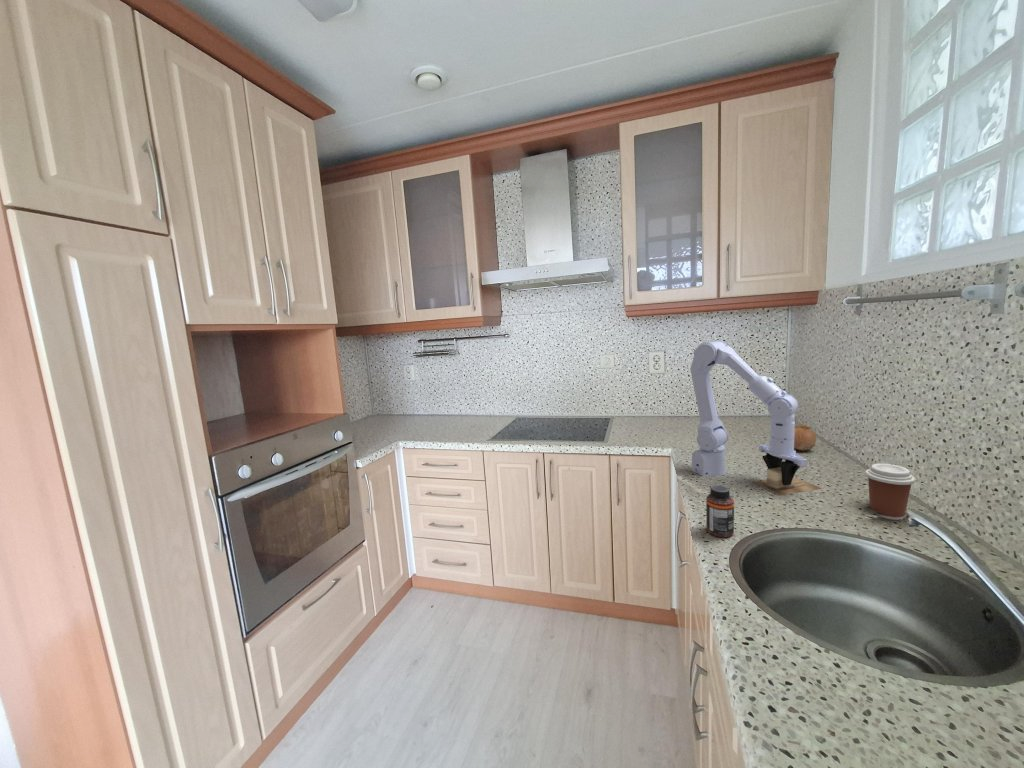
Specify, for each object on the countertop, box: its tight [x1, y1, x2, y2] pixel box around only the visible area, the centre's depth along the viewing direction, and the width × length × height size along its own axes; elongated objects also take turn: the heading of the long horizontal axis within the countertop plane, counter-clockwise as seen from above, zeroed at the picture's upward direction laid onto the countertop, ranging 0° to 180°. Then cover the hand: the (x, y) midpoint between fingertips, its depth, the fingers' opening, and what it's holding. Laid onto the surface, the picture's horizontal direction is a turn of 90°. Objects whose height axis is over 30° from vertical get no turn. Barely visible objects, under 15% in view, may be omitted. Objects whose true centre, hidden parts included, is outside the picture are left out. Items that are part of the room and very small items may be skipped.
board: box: [752, 477, 823, 496], centre depth 116 cm, size 14×10×1 cm
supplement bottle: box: [705, 484, 735, 539], centre depth 95 cm, size 6×6×11 cm
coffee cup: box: [864, 463, 917, 521], centre depth 98 cm, size 9×9×12 cm
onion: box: [794, 424, 817, 452], centre depth 147 cm, size 10×9×10 cm
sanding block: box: [766, 467, 796, 490], centre depth 115 cm, size 6×4×5 cm, turn 100°
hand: (780, 482), depth 115 cm, fingers closed on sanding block, 4 cm apart
